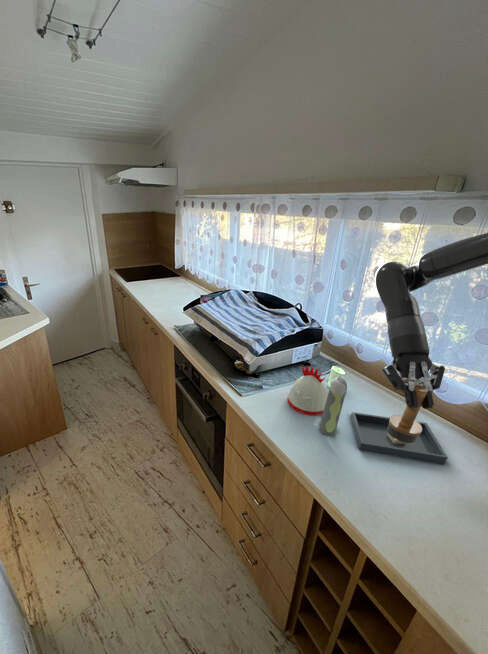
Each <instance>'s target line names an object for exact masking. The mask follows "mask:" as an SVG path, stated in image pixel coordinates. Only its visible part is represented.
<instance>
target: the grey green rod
mask: <svg viewBox="0 0 488 654" xmlns="http://www.w3.org/2000/svg"><path fill="white" fill-rule="evenodd" d="M347 390H348V384H347V381H346V380H345V378H344V379H343V378H340V377H339V378H335V379H333V380H332V383H331V387H329V390H328V396H327V400H326V404H325V407H324V411H323V413H322V415H321V419H320V422H319V425H318V432H319V433H321V434H322V435H323V436H326V437H333V436H335V434H336V432H337V428H338V425H339V420H340V416H341V412H342V408H343V405H344V403H345V397H346V394H347Z"/></svg>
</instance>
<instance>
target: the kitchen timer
mask: <svg viewBox="0 0 488 654" xmlns="http://www.w3.org/2000/svg"><path fill="white" fill-rule="evenodd" d="M301 371H302V376H300V377H299V378H297V379H295V380H294V383H293V384H292V385H291V388H290V389H289V392H288V395H287V404H288V405H289V407H290V408H291V409H293V410H294V411H295V412H297V413H300V414H302V415H307V416H313V417H315V416H318V415H321V414H323V411H324V407H325V404H326V400H327V396H328V393H329V390H328V386H327V385H326V383H325V381H324V380H325V379H326V376H324V377H323V378H321V376H322V374H323V373H322V372H320V373H319V368H316V369H315V370H314V366H312V367H311V369H310V367H309V365H306V366H305V367H304V366H302V367H301Z"/></svg>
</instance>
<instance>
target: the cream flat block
mask: <svg viewBox="0 0 488 654" xmlns="http://www.w3.org/2000/svg"><path fill="white" fill-rule="evenodd" d="M388 437H389V438H390V439H391V441H392V442H393V443H394V444H406V443H405V442H401V441H398V440H396V439H395V438H393V437H392V436H391V435H390V434H389V433H388Z"/></svg>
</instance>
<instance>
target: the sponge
mask: <svg viewBox="0 0 488 654" xmlns="http://www.w3.org/2000/svg"><path fill="white" fill-rule="evenodd" d="M243 366H244V365H243V362H241V361H238V360H237V359H236V361H235V362H234V367H236V369H237V370H239V371H241V372H245V374H248V375H250V374H251V375H252V373H253V372H249V371H248V370H246V369H245V368H244V367H243Z"/></svg>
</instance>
